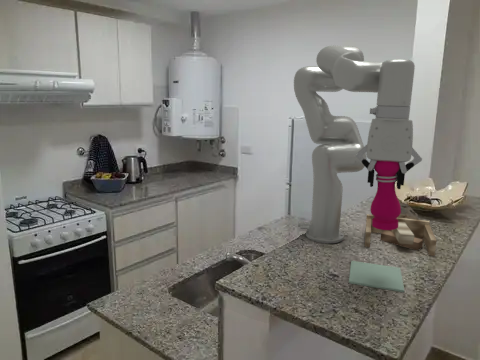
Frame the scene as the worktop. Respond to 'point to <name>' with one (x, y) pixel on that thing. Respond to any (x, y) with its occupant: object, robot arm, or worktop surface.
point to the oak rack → (416, 226)
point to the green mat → (376, 276)
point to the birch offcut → (403, 234)
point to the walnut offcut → (391, 238)
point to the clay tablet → (407, 212)
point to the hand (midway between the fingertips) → (384, 186)
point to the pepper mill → (386, 197)
